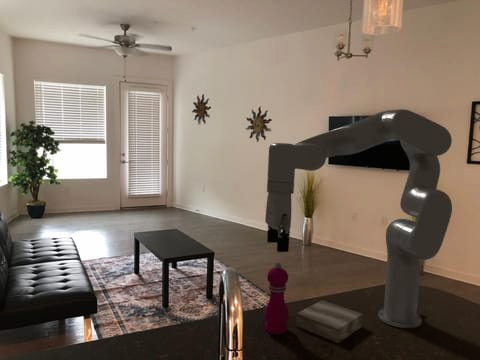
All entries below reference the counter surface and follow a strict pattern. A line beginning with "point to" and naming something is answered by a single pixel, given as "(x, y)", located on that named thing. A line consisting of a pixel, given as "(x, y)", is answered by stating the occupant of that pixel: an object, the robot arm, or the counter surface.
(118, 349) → the counter surface
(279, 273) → the pepper mill
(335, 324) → the grey ridged block
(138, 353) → the counter surface
